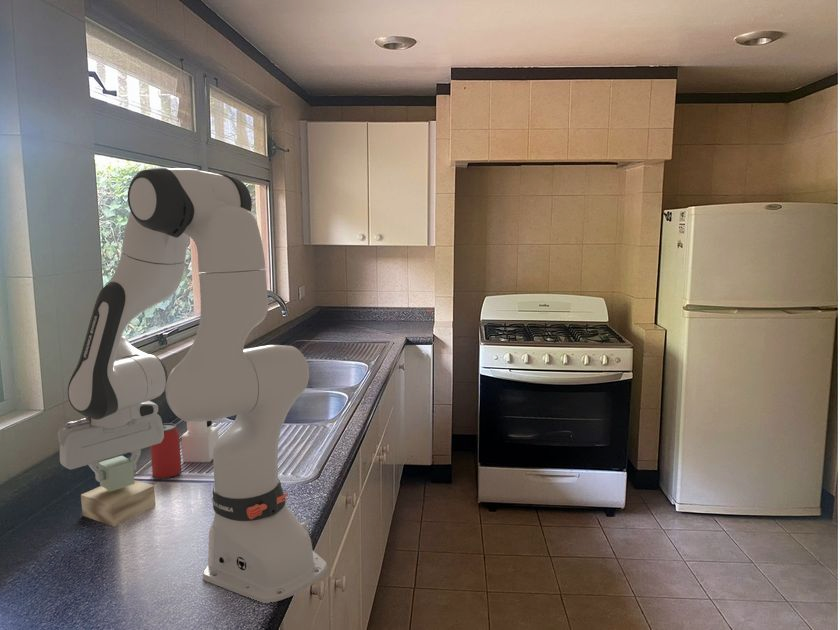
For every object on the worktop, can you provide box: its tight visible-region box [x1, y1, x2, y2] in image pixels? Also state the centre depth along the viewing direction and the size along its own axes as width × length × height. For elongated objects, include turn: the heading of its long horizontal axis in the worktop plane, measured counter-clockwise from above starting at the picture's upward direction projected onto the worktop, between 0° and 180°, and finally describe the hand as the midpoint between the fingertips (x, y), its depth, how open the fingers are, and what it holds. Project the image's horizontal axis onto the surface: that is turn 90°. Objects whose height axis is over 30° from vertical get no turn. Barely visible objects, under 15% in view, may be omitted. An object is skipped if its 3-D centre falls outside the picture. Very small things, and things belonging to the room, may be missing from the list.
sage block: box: [97, 455, 135, 492], centre depth 130 cm, size 5×5×5 cm
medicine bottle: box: [180, 421, 220, 463], centre depth 159 cm, size 7×7×12 cm
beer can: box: [149, 422, 182, 480], centre depth 148 cm, size 7×7×12 cm
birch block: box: [80, 479, 156, 527], centre depth 131 cm, size 10×10×5 cm
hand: (116, 474), depth 130 cm, fingers closed on sage block, 5 cm apart
